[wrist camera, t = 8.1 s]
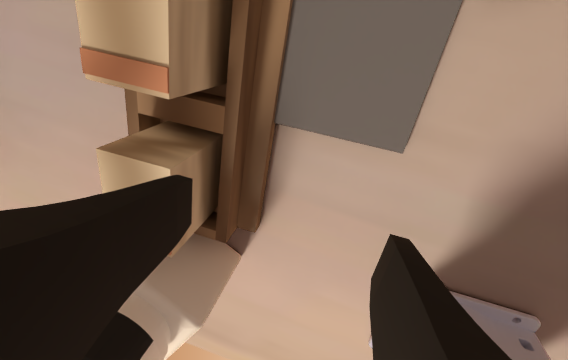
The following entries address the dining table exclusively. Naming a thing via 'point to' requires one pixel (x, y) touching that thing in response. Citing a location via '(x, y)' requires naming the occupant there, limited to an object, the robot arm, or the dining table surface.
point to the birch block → (156, 44)
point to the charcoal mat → (361, 67)
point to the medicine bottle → (168, 303)
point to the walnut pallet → (233, 113)
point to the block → (167, 164)
